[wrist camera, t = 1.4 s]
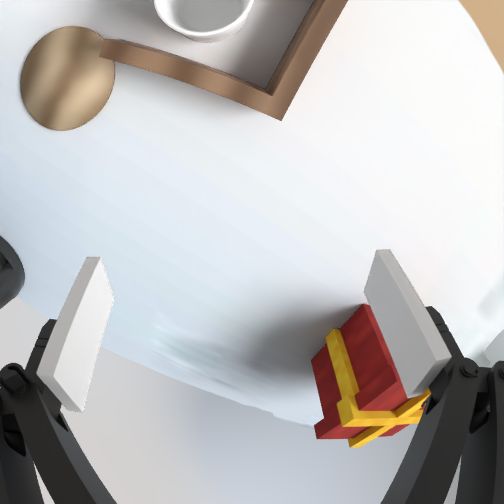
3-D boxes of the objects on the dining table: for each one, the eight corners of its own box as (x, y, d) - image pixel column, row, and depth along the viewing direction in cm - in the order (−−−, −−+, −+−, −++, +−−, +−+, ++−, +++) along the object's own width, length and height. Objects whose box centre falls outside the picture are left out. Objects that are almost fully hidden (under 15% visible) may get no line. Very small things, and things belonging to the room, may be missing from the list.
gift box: (371, 376, 75) (393, 443, 59) (291, 365, 67) (306, 448, 51) (437, 313, 62) (475, 385, 46) (360, 287, 55) (401, 383, 38)
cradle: (116, 54, 30) (98, 56, 25) (183, -76, 20) (176, -94, 15) (273, 110, 36) (281, 121, 31) (342, -14, 26) (361, -22, 21)
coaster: (15, 117, 31) (12, 118, 31) (40, 20, 24) (37, 20, 24) (97, 140, 36) (95, 142, 35) (131, 37, 29) (129, 37, 28)
